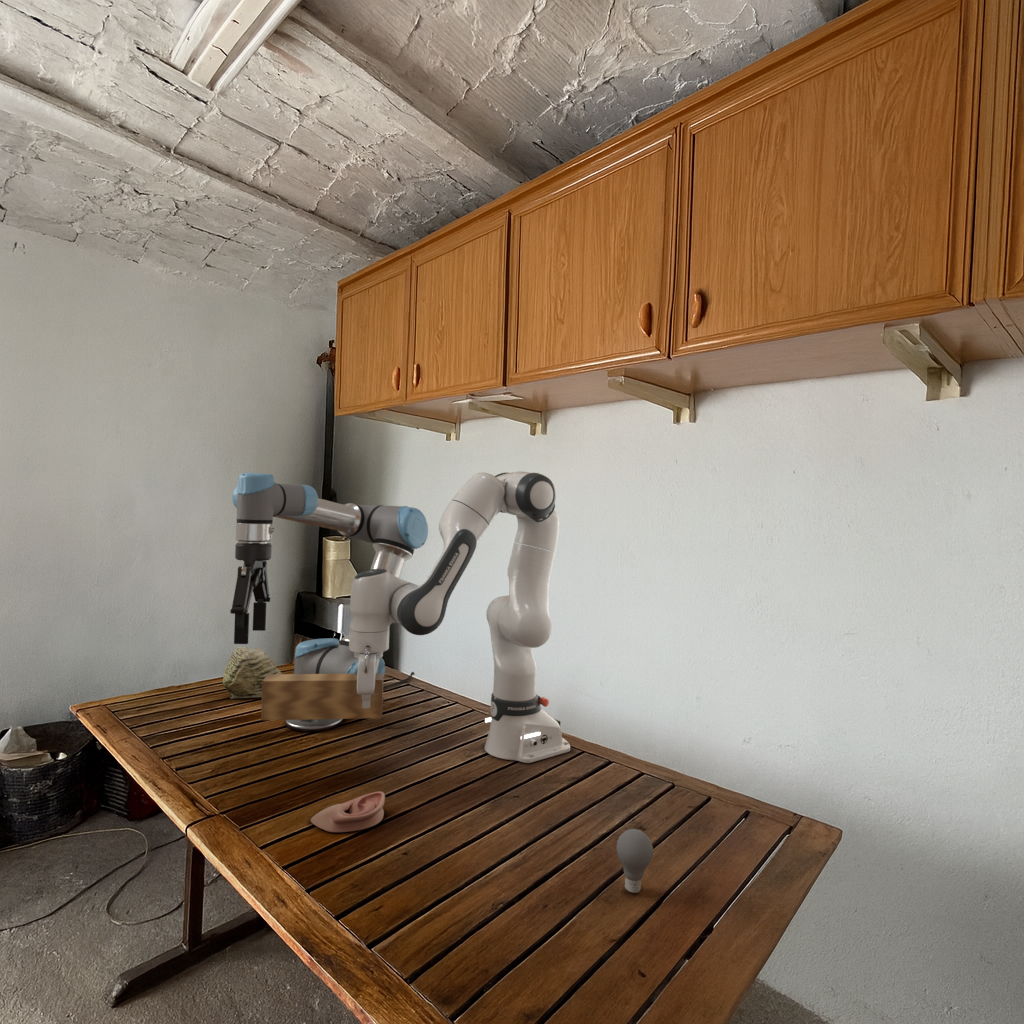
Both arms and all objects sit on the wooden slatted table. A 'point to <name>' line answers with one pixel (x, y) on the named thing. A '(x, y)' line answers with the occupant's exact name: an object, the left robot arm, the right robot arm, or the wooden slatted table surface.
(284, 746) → the wooden slatted table surface
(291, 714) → the bar
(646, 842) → the light bulb
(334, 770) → the wooden slatted table surface
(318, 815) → the anatomical model
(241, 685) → the fossil
